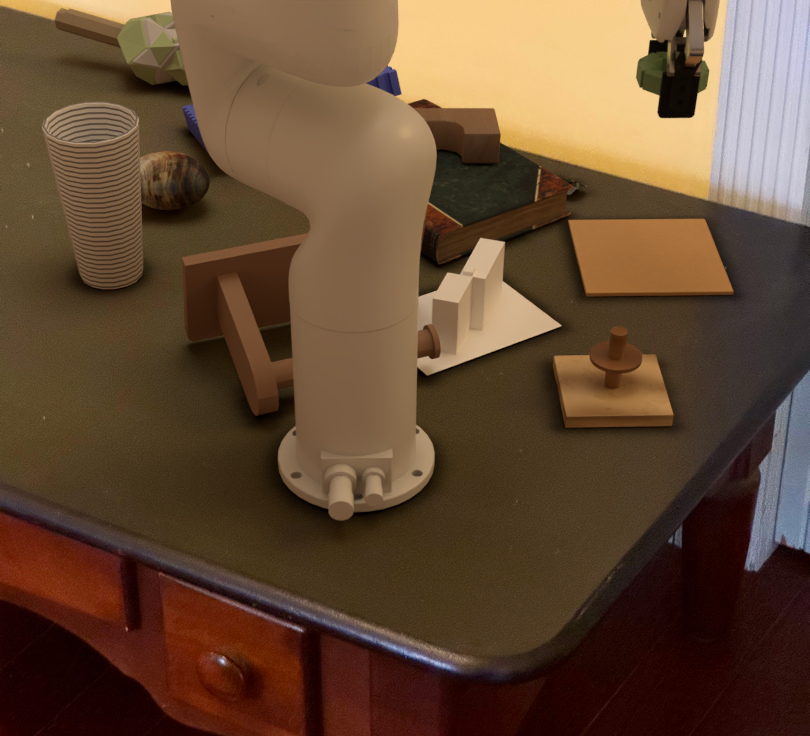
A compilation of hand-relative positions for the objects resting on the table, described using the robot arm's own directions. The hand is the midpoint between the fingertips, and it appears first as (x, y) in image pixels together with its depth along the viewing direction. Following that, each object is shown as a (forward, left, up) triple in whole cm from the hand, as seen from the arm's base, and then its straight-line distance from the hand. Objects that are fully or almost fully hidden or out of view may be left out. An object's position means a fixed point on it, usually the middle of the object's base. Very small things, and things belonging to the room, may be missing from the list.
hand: (669, 98), depth 129 cm
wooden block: (+17, +13, -12) cm, 25 cm away
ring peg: (-21, +7, -17) cm, 28 cm away
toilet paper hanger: (-15, +31, -18) cm, 39 cm away
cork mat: (+2, 0, -17) cm, 17 cm away
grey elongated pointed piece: (+15, +7, -16) cm, 23 cm away
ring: (0, 0, +1) cm, 1 cm away
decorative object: (+50, +63, -12) cm, 81 cm away
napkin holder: (-10, +19, -17) cm, 27 cm away
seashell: (+16, +45, -15) cm, 50 cm away
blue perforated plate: (+28, +35, -11) cm, 47 cm away
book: (+15, +20, -17) cm, 31 cm away
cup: (0, +52, -17) cm, 54 cm away
